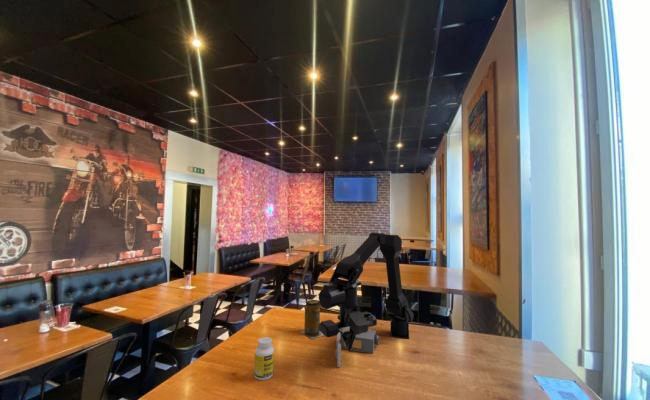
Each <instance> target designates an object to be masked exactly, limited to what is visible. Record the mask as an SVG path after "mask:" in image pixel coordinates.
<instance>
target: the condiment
mask: <svg viewBox="0 0 650 400" xmlns="http://www.w3.org/2000/svg"><path fill="white" fill-rule="evenodd" d="M320 318H321V309H320V302H319V300H316V299H309V300H306V301H305V308H304V330H300V331H299V333H301V334H303V336H306V337H308V338H309V339H311V340H312V339H313V340H314V339H317V338H320V337H324V336H325V335H324V334H323V333H321V332H320V331H319V324H320V322H321V319H320Z"/></svg>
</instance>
